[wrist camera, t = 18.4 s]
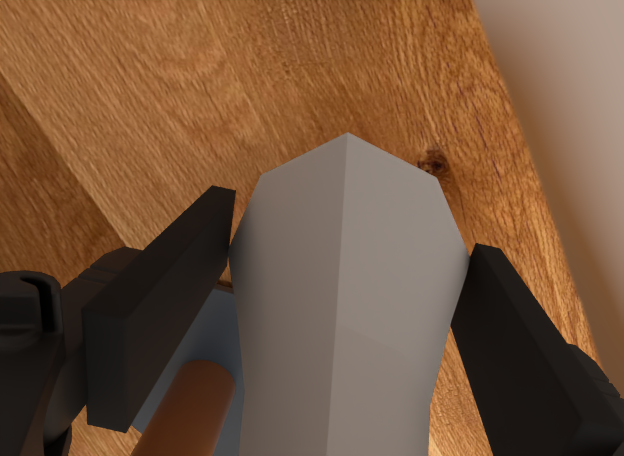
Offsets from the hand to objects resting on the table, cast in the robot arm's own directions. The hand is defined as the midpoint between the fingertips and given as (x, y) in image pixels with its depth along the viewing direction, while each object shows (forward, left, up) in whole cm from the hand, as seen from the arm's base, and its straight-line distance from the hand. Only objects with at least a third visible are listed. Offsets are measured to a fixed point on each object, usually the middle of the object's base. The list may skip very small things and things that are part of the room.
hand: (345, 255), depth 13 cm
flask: (0, 0, -1) cm, 1 cm away
